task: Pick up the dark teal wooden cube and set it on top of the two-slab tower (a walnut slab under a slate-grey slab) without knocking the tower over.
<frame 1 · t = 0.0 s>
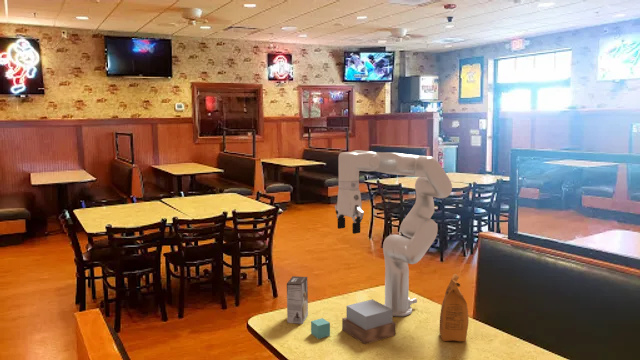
hand: (348, 230, 184), 37 cm above the table, tool pointing down, fingers open, 9 cm apart
coffee package: (453, 336, 177), on the table
tower top: (369, 320, 180), point 5 cm above the table
teal block: (320, 335, 179), on the table
tower base: (368, 333, 181), on the table
coffee box: (297, 319, 193), on the table
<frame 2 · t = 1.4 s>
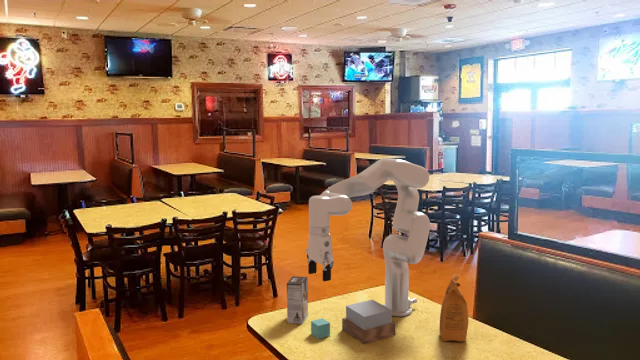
hand: (319, 276, 176), 22 cm above the table, tool pointing down, fingers open, 9 cm apart
tower top: (368, 320, 180), point 4 cm above the table, touching tower base
tower base: (368, 333, 181), on the table, touching tower top
everything else where it was.
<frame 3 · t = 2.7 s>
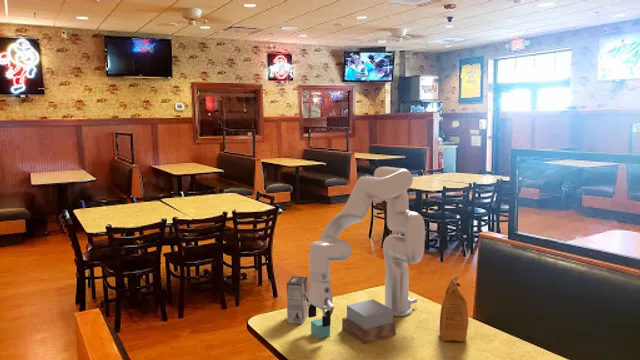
hand: (319, 321, 178), 5 cm above the table, tool pointing down, fingers open, 9 cm apart
tower top: (369, 320, 180), point 5 cm above the table
tower base: (368, 333, 181), on the table
everything else where it was.
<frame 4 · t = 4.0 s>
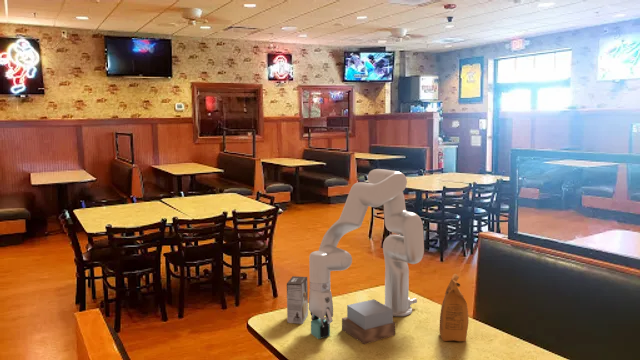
hand: (320, 332, 179), 1 cm above the table, tool pointing down, fingers closed on teal block, 5 cm apart
tower top: (369, 320, 180), point 5 cm above the table, touching tower base
teal block: (320, 334, 179), on the table, touching gripper
tower base: (368, 333, 181), on the table, touching tower top
everything else where it was.
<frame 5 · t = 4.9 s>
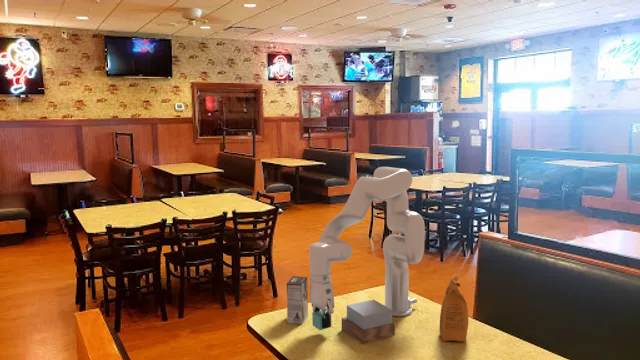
hand: (321, 324, 179), 4 cm above the table, tool pointing down, fingers closed on teal block, 5 cm apart
teal block: (322, 326, 179), point 3 cm above the table, touching gripper
everything else where it was.
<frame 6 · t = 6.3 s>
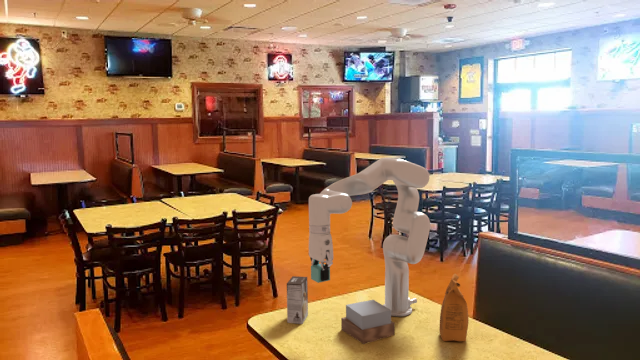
hand: (320, 277, 177), 22 cm above the table, tool pointing down, fingers closed on teal block, 5 cm apart
teal block: (320, 279, 177), point 21 cm above the table, touching gripper
everything else where it was.
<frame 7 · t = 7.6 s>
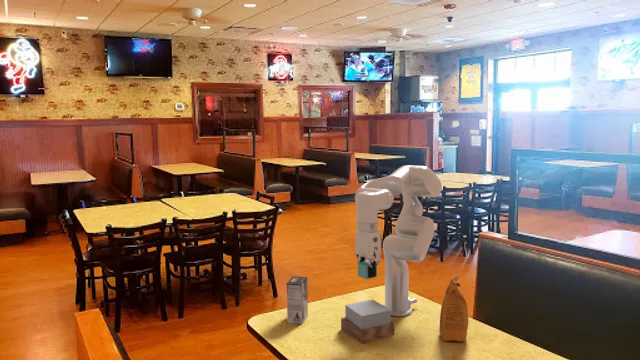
hand: (367, 274, 178), 22 cm above the table, tool pointing down, fingers closed on teal block, 5 cm apart
teal block: (367, 276, 178), point 21 cm above the table, touching gripper
everything else where it was.
when the fingers open (12 cm above the table, at t = 10.6 s): teal block drops 2 cm, resting on tower top.
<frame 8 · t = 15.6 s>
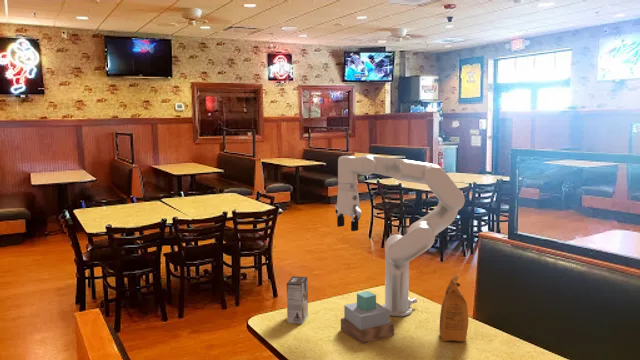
hand: (347, 228, 198), 34 cm above the table, tool pointing down, fingers open, 9 cm apart
tower top: (366, 320, 180), point 5 cm above the table, touching teal block, tower base
teal block: (366, 307, 180), point 10 cm above the table, touching tower top
everything else where it was.
at the end: teal block inside the target area on the tower top (0.3 cm from its centre), point 5.0 cm above the tower top's base; tower top tilted 0°; tower top moved 1.0 cm from its start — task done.
